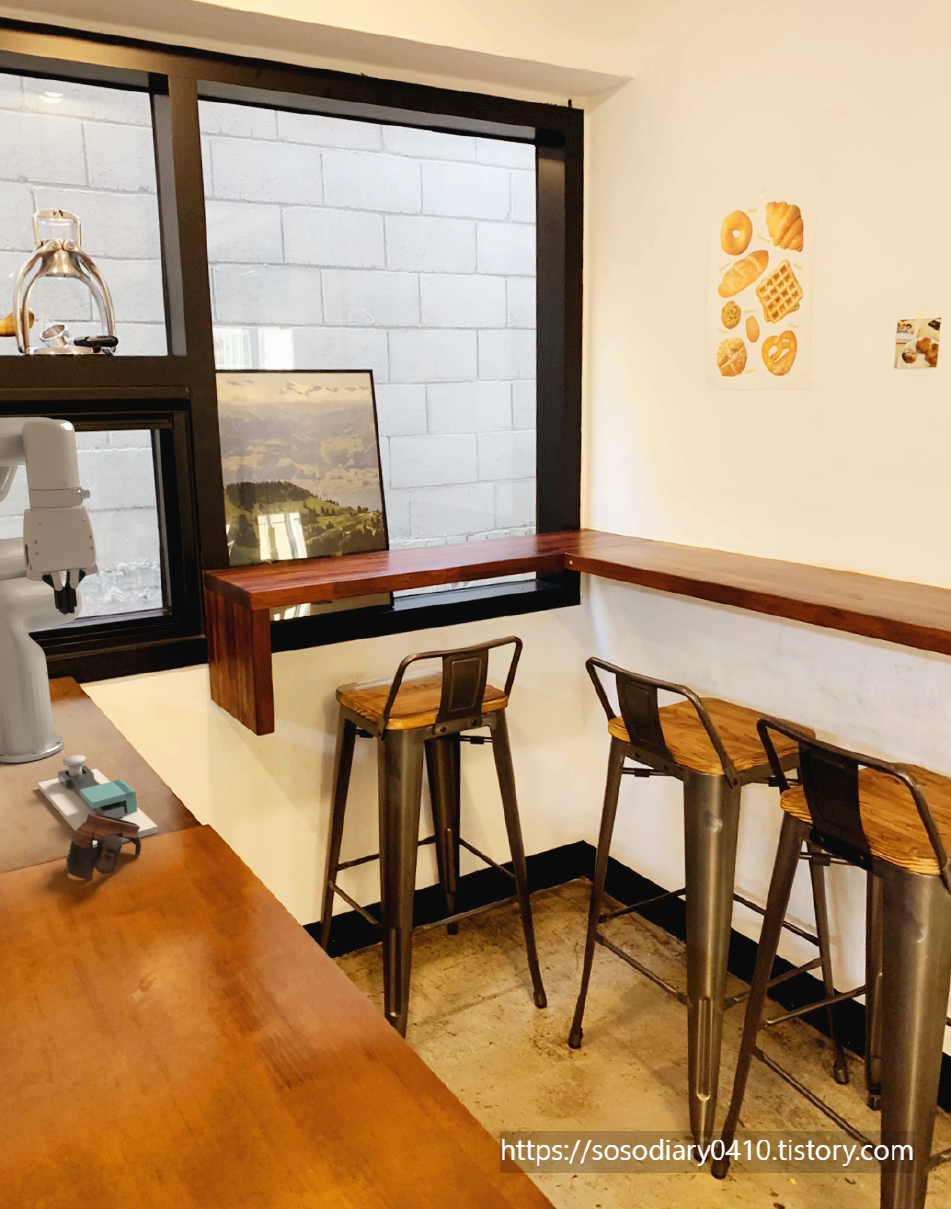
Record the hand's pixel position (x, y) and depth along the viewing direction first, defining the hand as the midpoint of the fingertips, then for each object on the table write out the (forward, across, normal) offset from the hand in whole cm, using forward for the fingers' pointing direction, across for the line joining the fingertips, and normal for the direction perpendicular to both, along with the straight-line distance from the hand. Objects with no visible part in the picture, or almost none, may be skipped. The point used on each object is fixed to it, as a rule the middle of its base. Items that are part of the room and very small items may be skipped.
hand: (66, 612), depth 154 cm
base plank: (+29, +2, +13) cm, 32 cm away
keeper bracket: (+28, +1, +17) cm, 33 cm away
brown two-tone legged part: (+29, +7, +32) cm, 44 cm away
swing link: (+28, +2, +11) cm, 30 cm away
